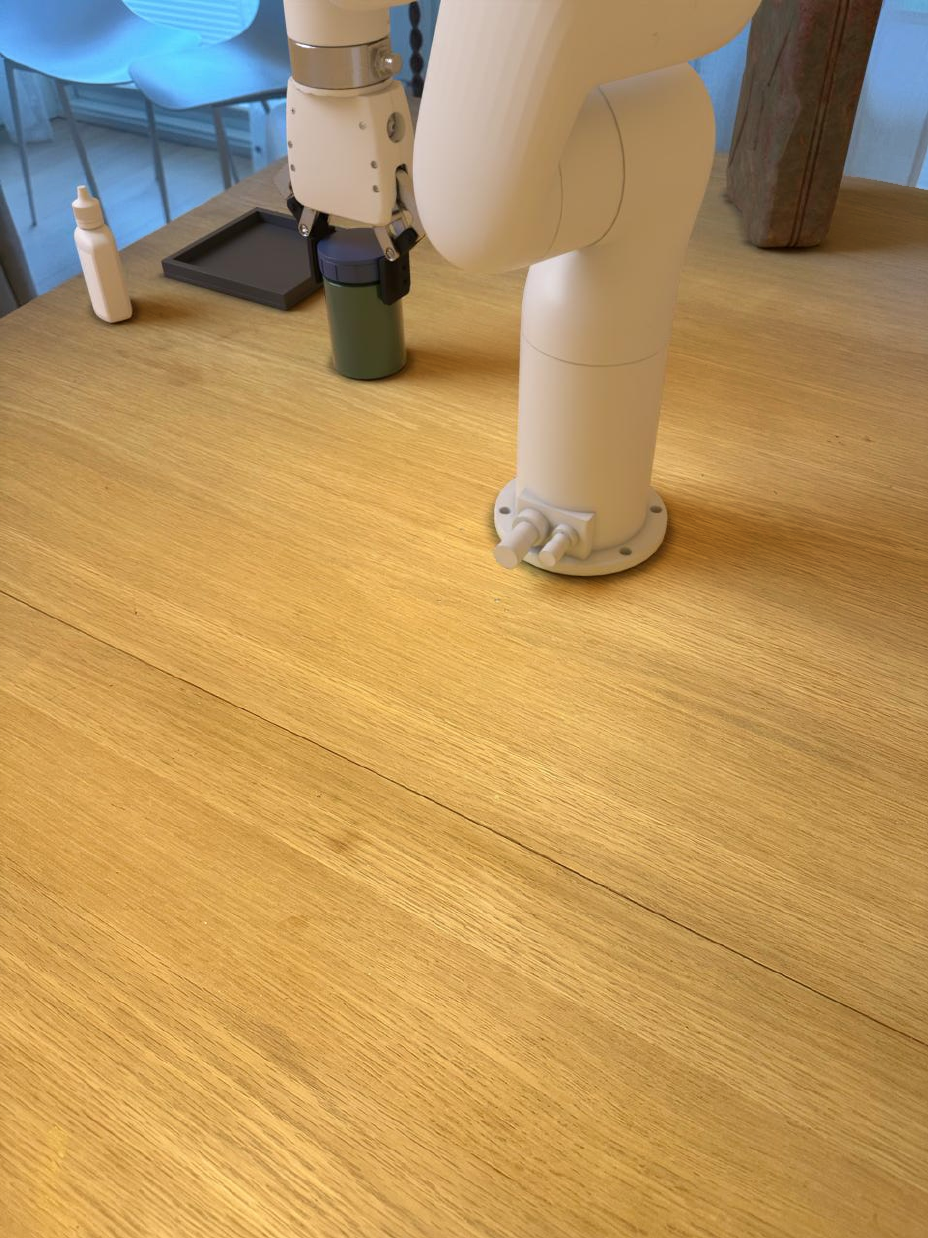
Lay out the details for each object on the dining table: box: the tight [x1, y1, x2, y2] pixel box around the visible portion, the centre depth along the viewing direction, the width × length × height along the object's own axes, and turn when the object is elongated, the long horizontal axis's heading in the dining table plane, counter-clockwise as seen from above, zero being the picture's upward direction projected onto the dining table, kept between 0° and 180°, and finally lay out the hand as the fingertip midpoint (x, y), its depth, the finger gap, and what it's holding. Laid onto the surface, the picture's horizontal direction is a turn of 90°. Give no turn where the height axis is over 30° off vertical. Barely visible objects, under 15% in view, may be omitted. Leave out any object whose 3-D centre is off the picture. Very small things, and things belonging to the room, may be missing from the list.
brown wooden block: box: [725, 0, 884, 248], centre depth 109 cm, size 19×8×25 cm, turn 1°
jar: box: [322, 274, 407, 380], centre depth 92 cm, size 7×7×10 cm
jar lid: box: [317, 227, 397, 283], centre depth 88 cm, size 7×7×2 cm
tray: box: [160, 206, 347, 311], centre depth 109 cm, size 16×16×2 cm
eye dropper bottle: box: [71, 184, 133, 324], centre depth 99 cm, size 4×6×12 cm
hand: (360, 286), depth 90 cm, fingers closed on jar lid, 6 cm apart
